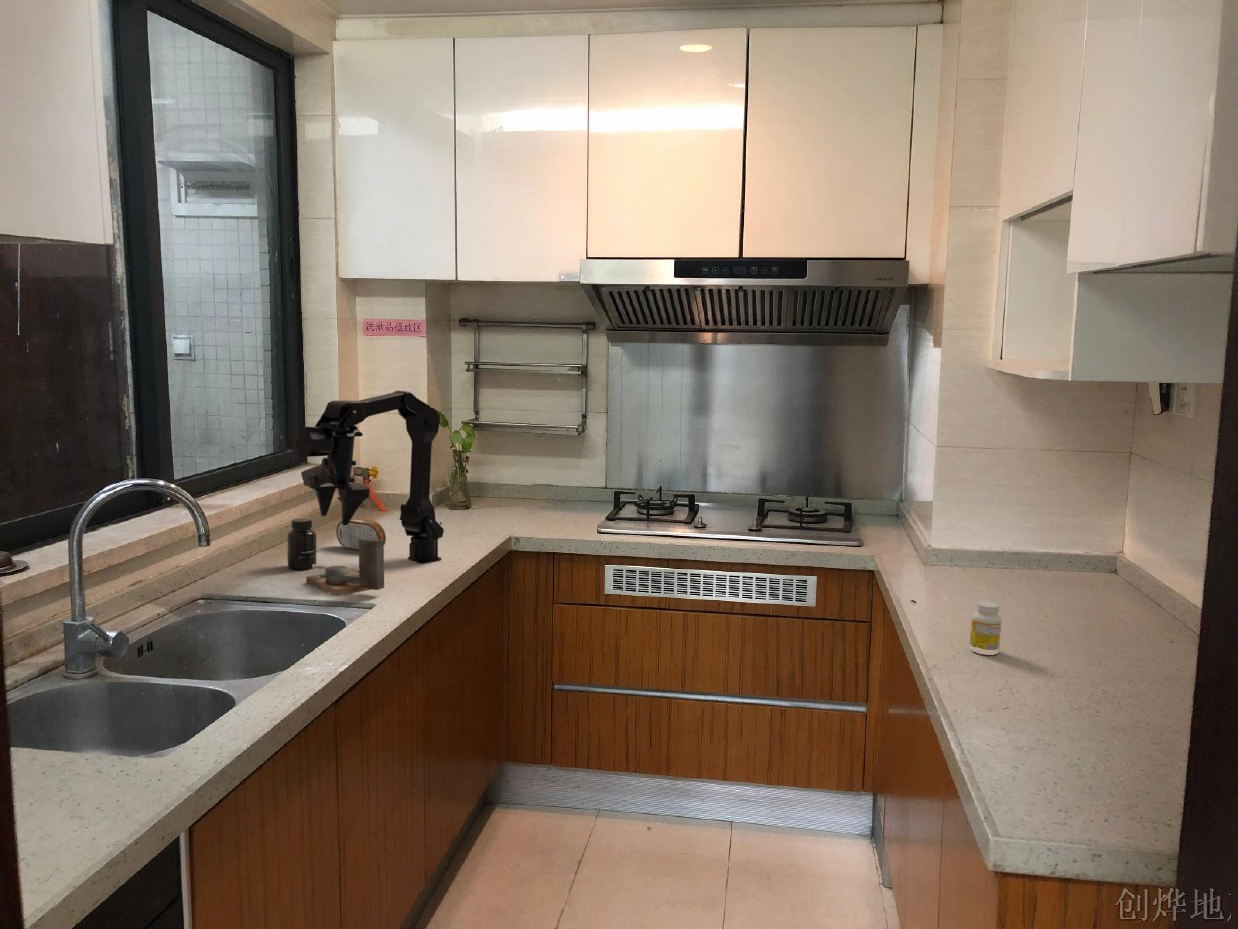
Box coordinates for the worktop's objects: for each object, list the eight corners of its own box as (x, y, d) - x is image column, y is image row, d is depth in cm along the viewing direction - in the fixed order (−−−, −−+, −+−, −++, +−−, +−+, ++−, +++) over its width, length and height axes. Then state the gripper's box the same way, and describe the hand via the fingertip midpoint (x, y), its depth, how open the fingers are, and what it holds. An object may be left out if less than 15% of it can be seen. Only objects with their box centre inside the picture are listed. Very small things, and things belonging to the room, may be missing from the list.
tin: (386, 552, 249) (386, 521, 248) (379, 555, 246) (378, 523, 245) (342, 545, 255) (342, 515, 254) (334, 548, 252) (333, 517, 251)
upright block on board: (305, 579, 214) (304, 532, 212) (321, 574, 218) (320, 528, 217) (373, 591, 206) (372, 543, 204) (387, 586, 210) (387, 538, 209)
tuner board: (352, 574, 226) (352, 566, 226) (383, 586, 216) (383, 577, 216) (306, 583, 218) (306, 574, 217) (335, 596, 208) (335, 587, 208)
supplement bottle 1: (307, 571, 228) (306, 523, 226) (282, 569, 229) (280, 521, 227) (322, 565, 234) (321, 518, 233) (297, 563, 236) (296, 516, 234)
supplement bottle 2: (993, 658, 178) (997, 610, 177) (965, 651, 181) (969, 604, 180) (1002, 651, 182) (1006, 604, 181) (975, 645, 186) (978, 598, 184)
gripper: (287, 447, 216) (282, 513, 219) (330, 464, 204) (324, 533, 207) (330, 447, 225) (324, 510, 227) (374, 462, 213) (367, 529, 215)
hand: (334, 520), depth 219 cm, fingers open, 9 cm apart
